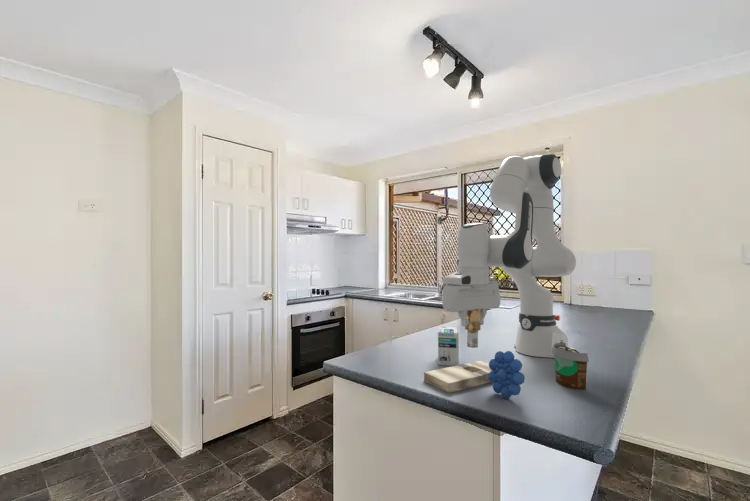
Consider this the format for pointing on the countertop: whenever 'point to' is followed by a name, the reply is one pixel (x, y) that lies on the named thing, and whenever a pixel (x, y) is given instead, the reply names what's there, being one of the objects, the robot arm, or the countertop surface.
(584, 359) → the food container
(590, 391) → the countertop surface
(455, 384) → the wooden block with hole
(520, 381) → the grapes
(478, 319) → the gold rounded piece
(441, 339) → the light bulb box
